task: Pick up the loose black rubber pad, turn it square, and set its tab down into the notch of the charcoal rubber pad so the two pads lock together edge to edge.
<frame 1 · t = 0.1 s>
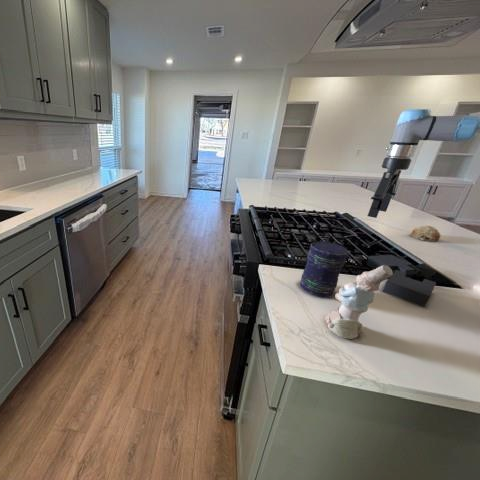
hand: (376, 213, 100), 18 cm above the countertop, tool pointing down, fingers open, 13 cm apart
base pad: (406, 292, 82), on the countertop
figurine: (342, 328, 66), on the countertop
storage jar: (315, 289, 83), on the countertop
bread roll: (423, 238, 127), on the countertop
loose pad: (386, 269, 96), on the countertop
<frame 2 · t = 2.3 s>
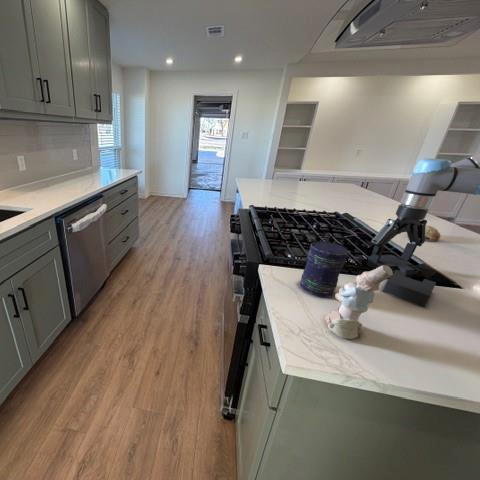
hand: (389, 261, 95), 4 cm above the countertop, tool pointing down, fingers open, 13 cm apart
nothing on the countertop moved.
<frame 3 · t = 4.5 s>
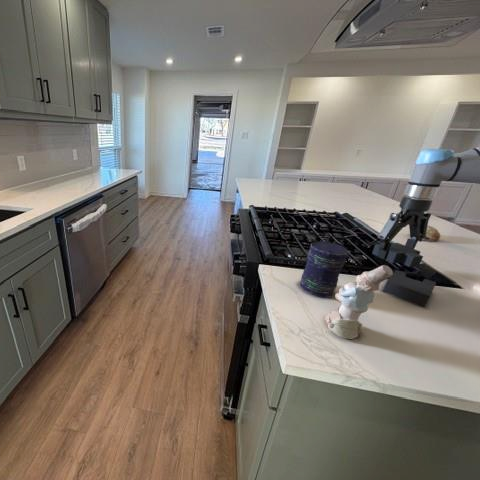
hand: (393, 256, 94), 5 cm above the countertop, tool pointing down, fingers closed on loose pad, 10 cm apart
loose pad: (393, 257, 94), point 5 cm above the countertop, touching gripper
everything else where it was.
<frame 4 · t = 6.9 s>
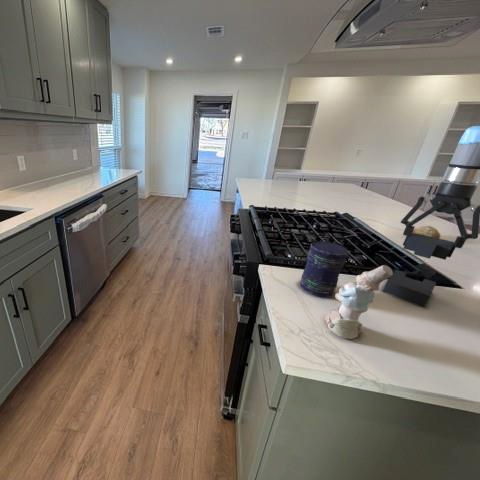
hand: (425, 250, 84), 12 cm above the countertop, tool pointing down, fingers closed on loose pad, 10 cm apart
loose pad: (425, 250, 84), point 12 cm above the countertop, touching gripper
everything else where it was.
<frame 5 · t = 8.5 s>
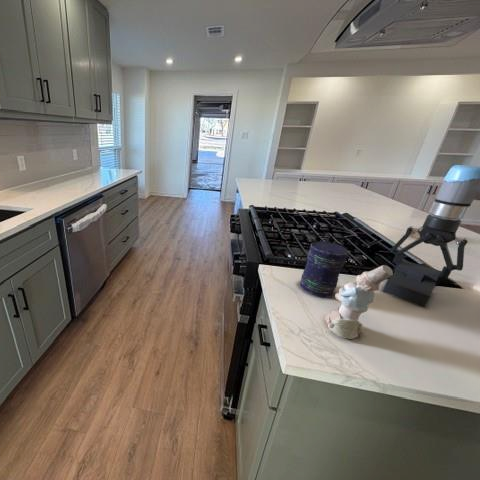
hand: (414, 277, 88), 2 cm above the countertop, tool pointing down, fingers closed on loose pad, 10 cm apart
loose pad: (414, 278, 88), point 1 cm above the countertop, touching gripper
everything else where it was.
when the fingers open (0 cm above the countertop, at t = 9.4 s): loose pad stays where it is, on the countertop.
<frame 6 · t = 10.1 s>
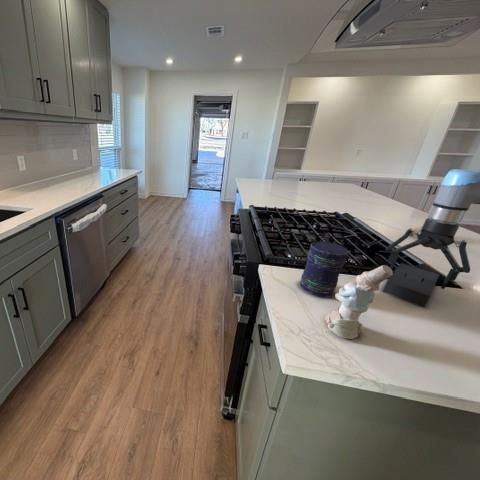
hand: (414, 278, 88), 1 cm above the countertop, tool pointing down, fingers open, 13 cm apart
loose pad: (412, 281, 88), on the countertop
everything else where it was.
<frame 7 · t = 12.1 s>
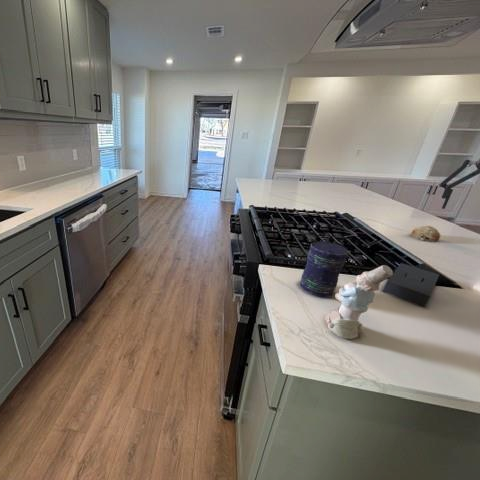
hand: (472, 212, 84), 24 cm above the countertop, tool pointing down, fingers open, 13 cm apart
nothing on the countertop moved.
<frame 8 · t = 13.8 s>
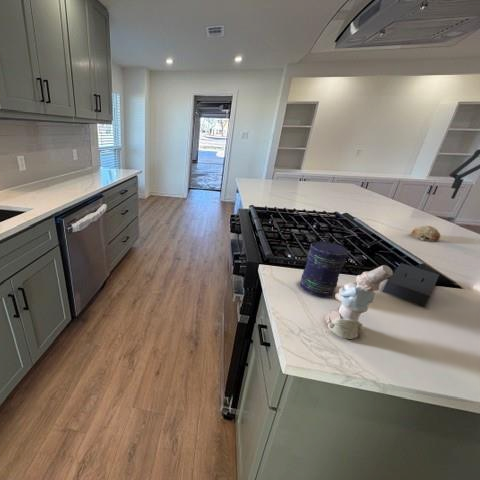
nothing on the countertop moved.
at the end: loose pad 0.2 cm from the target spot on the countertop beside the base pad, on the countertop; loose pad tilted 0°; the gripper is holding nothing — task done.
